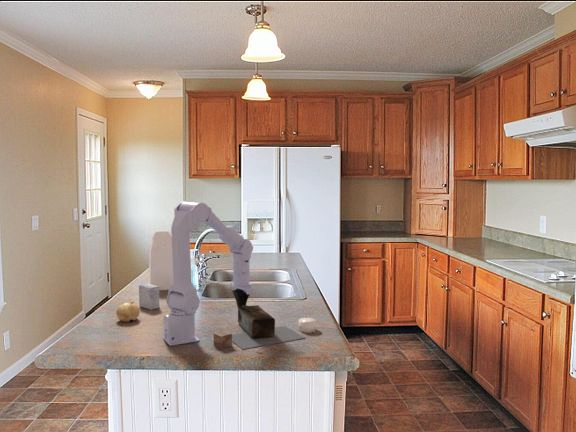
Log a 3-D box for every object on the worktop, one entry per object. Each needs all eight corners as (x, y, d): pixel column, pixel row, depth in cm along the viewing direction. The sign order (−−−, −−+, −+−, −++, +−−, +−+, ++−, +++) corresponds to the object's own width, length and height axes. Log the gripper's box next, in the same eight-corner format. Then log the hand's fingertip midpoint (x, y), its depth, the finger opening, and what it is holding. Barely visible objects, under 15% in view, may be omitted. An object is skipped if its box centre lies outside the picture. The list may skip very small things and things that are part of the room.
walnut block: (221, 349, 154) (221, 336, 153) (213, 346, 157) (213, 333, 156) (232, 346, 157) (231, 333, 156) (224, 343, 159) (224, 330, 159)
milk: (174, 283, 242) (173, 229, 240) (177, 288, 231) (176, 232, 229) (148, 285, 238) (147, 230, 236) (150, 290, 227) (148, 233, 225)
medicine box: (159, 308, 199) (159, 286, 198) (149, 310, 196) (149, 288, 195) (148, 304, 204) (148, 283, 204) (139, 306, 201) (138, 284, 200)
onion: (138, 323, 179) (137, 303, 179) (114, 324, 178) (114, 304, 177) (140, 316, 187) (140, 298, 187) (118, 317, 186) (118, 298, 185)
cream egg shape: (304, 334, 168) (304, 323, 168) (295, 329, 174) (295, 319, 173) (319, 331, 171) (319, 321, 171) (310, 326, 176) (310, 316, 176)
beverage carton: (258, 320, 182) (258, 302, 181) (276, 337, 164) (276, 317, 163) (237, 322, 179) (237, 304, 179) (252, 340, 161) (252, 319, 161)
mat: (242, 349, 153) (242, 349, 153) (225, 336, 165) (225, 335, 165) (305, 338, 164) (305, 337, 164) (284, 326, 176) (284, 325, 176)
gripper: (260, 274, 175) (260, 313, 176) (243, 267, 188) (243, 303, 189) (241, 276, 172) (241, 316, 173) (225, 269, 184) (225, 306, 185)
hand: (241, 309), depth 181 cm, fingers closed
